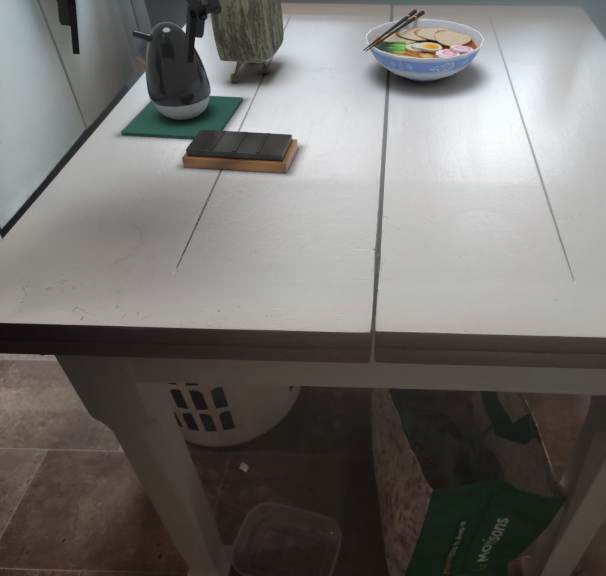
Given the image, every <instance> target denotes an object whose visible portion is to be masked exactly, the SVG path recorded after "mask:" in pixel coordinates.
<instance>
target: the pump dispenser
mask: <svg viewBox="0 0 606 576" xmlns="http://www.w3.org/2000/svg"><path fill="white" fill-rule="evenodd" d="M185 33H186V31H184V30H183V29H182V27H180V26H179V25H178V24H176V23H174V22H170V21H163V22H159V23H157V24H156V25H154V26H153V28H152V29H151V32H146V31H142V30H139V29H132V30H131V35H132V37H134V38H136V39H139V40H142V41H145V42H147V47H146V52H145V65H144V66H145V67H144V68H145V81H146V89H147V94H148V98H149V100H150V102H151V101H152V102H153V103H154V105H155V107H156V108H157V110H158V111H159V112H160V113H161V114H163V115H164V116H166V117H168V118H171V119H175V120H188V119H192V118H194V117H197V116H198V115H200V114H201V113H203V112H204V110H205V109H206V107H207V105H208V102H209V96H211V93H212V89H211V83H210V79H209V77H208V74H207V71H206V67H205V65H204V63H203V61H202V58H201V57H200V54H199V52H198V50H197V49H196V47H194V59H193V63H187V59H186V55H185V51H184V48H185Z"/></svg>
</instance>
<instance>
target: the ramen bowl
mask: <svg viewBox="0 0 606 576" xmlns="http://www.w3.org/2000/svg"><path fill="white" fill-rule="evenodd" d="M425 13H426V11H425V10H420V11H419V12H418V10H417V9H413V10H411V11H410V12H408V13H407V15H405V16H404V17H402V18H401V19H400V20H399V19H398V20H393V21H389V22H384V23H382V24H380V25H377V26H374V27H372V28H370V30H369V31H368V32H367V33H366V34H365V35H364V37H365V40H366V44H367V46H366V47H365V48H364V49H363V50H362V51H365V52H368V51H370V52H371V54H372V55H373V57H374V59H375V60H376V61H377V62H378V64H380V65H381V66H382V67H384V68H385V69H387V70H388V71H390V72H391V73H392V74H394V75H395V76H396V75H397V76H400V77H403V78H406V79H408V80H410V81H414V82H420V83H427V82H429V83H430V82H434V81H437V80H439V79H444V78H447V77H451V76H453V75H454V74H457V73H458V72H460V71H462V70H464V69H465V68H467V66H469V65H470V64H471V63H472V61H473V60H474V59H475V57H477V55H478V53H479V52H480V49H481V48H482V46H483V43H484V41H485V38H484V36H483V35H482V33H481V32H480V31H479V30H476V29H474V28H473V27H471V26H469V25H466V24H462V23H458V22H456V21H455V22H454V21H450V20H443V19H434V18H433V19H432V18H421V17H423V16H424V15H425Z"/></svg>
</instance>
